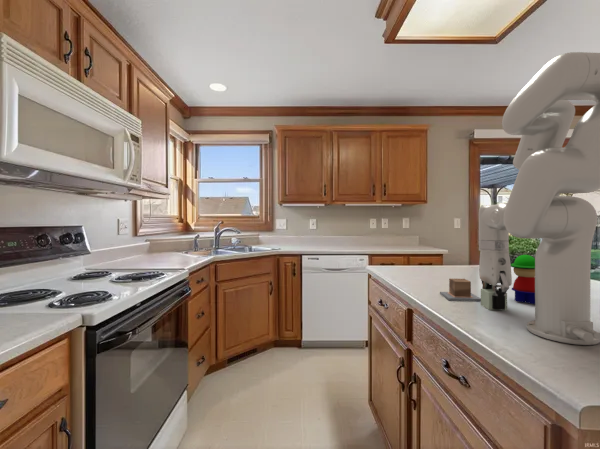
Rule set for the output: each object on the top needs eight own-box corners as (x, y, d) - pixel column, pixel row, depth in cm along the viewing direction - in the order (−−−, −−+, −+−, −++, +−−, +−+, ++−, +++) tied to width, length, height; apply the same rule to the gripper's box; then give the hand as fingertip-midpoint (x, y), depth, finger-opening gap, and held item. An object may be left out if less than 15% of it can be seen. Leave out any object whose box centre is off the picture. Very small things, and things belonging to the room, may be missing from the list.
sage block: (507, 310, 87) (507, 293, 87) (488, 309, 88) (488, 292, 88) (498, 305, 92) (498, 289, 92) (480, 305, 93) (480, 288, 92)
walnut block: (470, 296, 98) (470, 281, 98) (454, 296, 99) (454, 281, 99) (464, 293, 103) (464, 278, 103) (449, 292, 104) (449, 278, 104)
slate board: (481, 301, 96) (481, 298, 96) (449, 300, 98) (449, 297, 98) (469, 294, 105) (469, 291, 105) (440, 294, 106) (439, 291, 106)
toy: (504, 300, 97) (504, 254, 96) (513, 296, 102) (512, 252, 102) (539, 306, 90) (539, 257, 89) (546, 301, 95) (546, 254, 95)
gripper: (524, 248, 81) (524, 315, 81) (492, 243, 97) (492, 299, 98) (494, 248, 82) (494, 315, 82) (468, 243, 98) (468, 298, 99)
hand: (493, 305), depth 90 cm, fingers closed on sage block, 5 cm apart
